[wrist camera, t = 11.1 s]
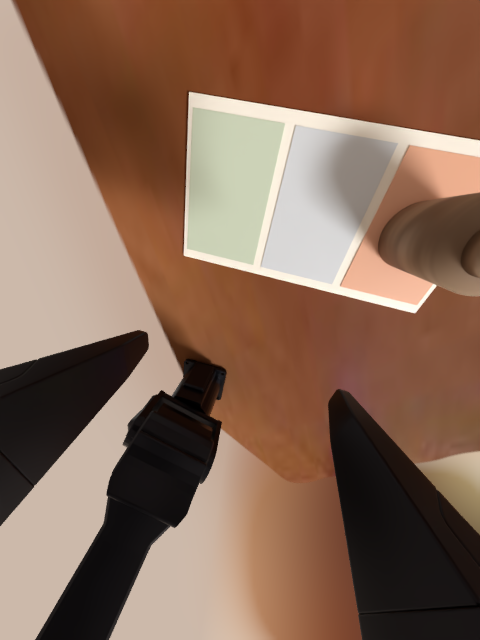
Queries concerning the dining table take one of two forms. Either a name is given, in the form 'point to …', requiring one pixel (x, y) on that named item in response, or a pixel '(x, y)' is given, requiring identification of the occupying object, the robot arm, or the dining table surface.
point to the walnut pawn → (437, 242)
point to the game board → (313, 194)
